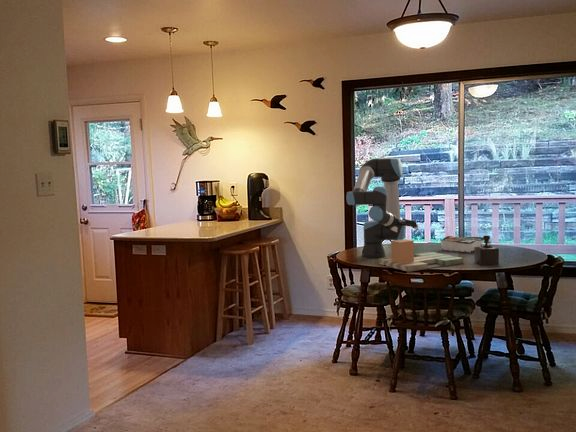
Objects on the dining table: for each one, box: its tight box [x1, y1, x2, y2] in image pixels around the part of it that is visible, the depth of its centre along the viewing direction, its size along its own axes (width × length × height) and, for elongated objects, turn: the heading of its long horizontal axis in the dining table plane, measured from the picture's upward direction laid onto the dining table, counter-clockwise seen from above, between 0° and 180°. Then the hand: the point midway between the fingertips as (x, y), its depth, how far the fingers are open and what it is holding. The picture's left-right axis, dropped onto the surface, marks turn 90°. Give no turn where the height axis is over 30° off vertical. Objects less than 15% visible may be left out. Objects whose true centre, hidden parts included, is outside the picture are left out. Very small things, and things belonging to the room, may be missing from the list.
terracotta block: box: [390, 238, 415, 263], centre depth 322 cm, size 8×10×12 cm
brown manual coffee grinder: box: [473, 234, 500, 266], centre depth 318 cm, size 16×11×18 cm
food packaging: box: [437, 235, 484, 253], centre depth 371 cm, size 25×8×23 cm
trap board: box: [378, 251, 464, 273], centre depth 329 cm, size 28×40×3 cm
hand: (407, 228), depth 325 cm, fingers open, 13 cm apart
